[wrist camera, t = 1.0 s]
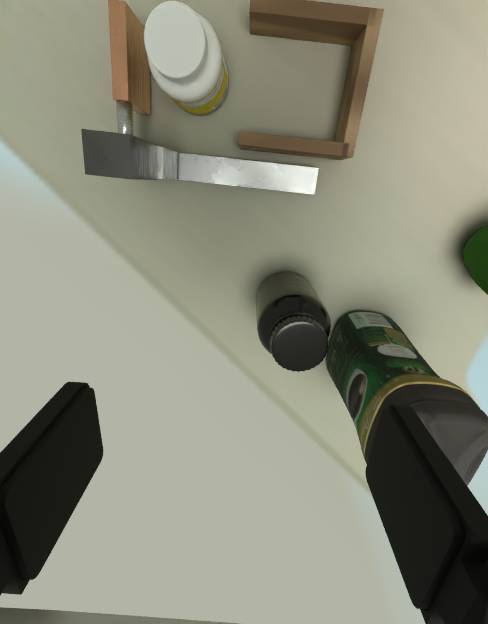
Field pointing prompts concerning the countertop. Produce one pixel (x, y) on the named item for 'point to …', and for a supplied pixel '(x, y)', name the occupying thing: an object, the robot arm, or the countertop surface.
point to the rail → (246, 173)
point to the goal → (329, 29)
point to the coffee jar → (402, 389)
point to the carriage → (127, 109)
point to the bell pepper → (478, 257)
